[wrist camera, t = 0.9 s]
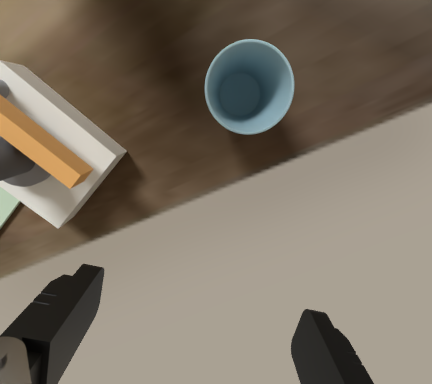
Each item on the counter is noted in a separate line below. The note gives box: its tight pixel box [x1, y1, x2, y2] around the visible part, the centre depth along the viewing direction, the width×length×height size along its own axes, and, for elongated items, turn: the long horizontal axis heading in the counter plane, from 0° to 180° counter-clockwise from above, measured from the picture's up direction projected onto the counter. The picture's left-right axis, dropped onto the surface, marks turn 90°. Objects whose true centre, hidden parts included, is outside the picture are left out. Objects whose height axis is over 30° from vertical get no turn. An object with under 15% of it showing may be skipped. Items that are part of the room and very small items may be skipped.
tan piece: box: [0, 95, 93, 189], centre depth 27 cm, size 14×3×4 cm, turn 48°
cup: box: [205, 39, 294, 135], centre depth 29 cm, size 8×8×10 cm
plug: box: [0, 136, 51, 187], centre depth 29 cm, size 7×7×14 cm
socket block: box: [0, 60, 127, 228], centre depth 33 cm, size 15×12×6 cm
